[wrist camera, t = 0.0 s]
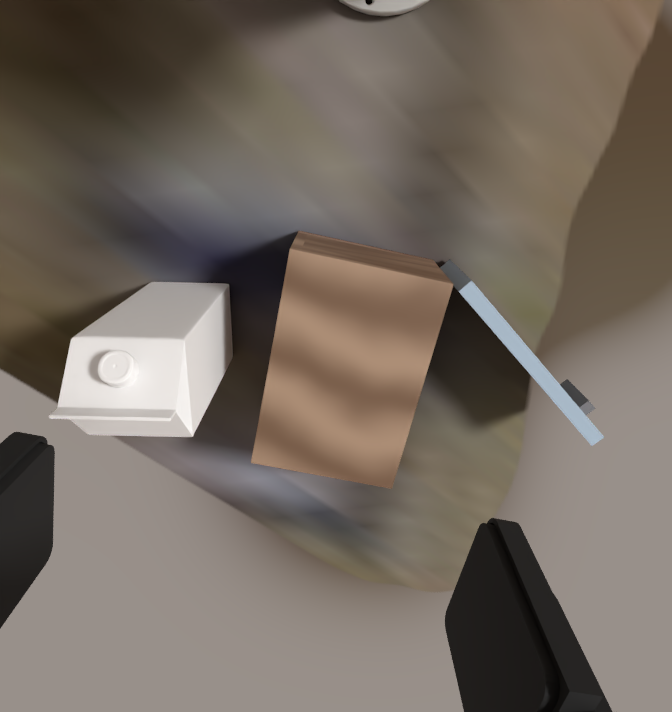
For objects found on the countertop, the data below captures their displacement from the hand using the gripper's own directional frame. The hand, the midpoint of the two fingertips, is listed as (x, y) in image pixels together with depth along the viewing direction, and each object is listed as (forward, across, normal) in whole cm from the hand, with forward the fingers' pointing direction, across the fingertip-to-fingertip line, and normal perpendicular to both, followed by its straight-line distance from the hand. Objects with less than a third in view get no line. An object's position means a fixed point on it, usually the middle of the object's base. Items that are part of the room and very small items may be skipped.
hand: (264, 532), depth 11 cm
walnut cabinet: (+37, -4, +8) cm, 38 cm away
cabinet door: (+36, -19, +4) cm, 41 cm away
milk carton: (+37, +10, +9) cm, 39 cm away
